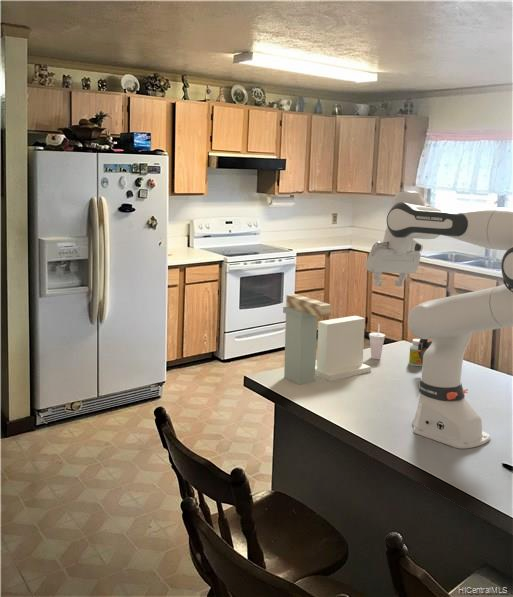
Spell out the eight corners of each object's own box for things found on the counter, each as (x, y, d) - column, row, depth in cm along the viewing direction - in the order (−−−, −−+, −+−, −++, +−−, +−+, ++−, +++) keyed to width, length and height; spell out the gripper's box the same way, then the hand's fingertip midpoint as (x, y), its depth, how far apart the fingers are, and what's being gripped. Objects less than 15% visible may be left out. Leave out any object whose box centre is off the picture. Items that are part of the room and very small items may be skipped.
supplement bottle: (407, 364, 248) (408, 340, 246) (410, 361, 253) (412, 337, 251) (421, 367, 246) (423, 342, 244) (424, 363, 251) (426, 339, 249)
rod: (330, 316, 215) (331, 304, 214) (321, 317, 213) (321, 305, 212) (295, 304, 231) (295, 293, 230) (286, 305, 229) (286, 295, 228)
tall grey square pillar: (317, 381, 228) (320, 310, 222) (299, 385, 223) (301, 313, 218) (299, 373, 237) (301, 304, 231) (281, 376, 232) (283, 307, 227)
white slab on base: (370, 371, 239) (373, 320, 235) (329, 381, 229) (331, 326, 224) (349, 363, 249) (351, 313, 245) (308, 371, 238) (310, 319, 234)
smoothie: (385, 360, 254) (387, 326, 251) (369, 360, 254) (370, 325, 251) (382, 355, 260) (384, 322, 257) (366, 355, 260) (368, 321, 257)
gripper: (381, 243, 189) (371, 288, 192) (426, 246, 201) (416, 288, 204) (366, 238, 194) (357, 282, 197) (411, 242, 206) (402, 283, 209)
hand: (387, 285), depth 201 cm, fingers open, 8 cm apart
